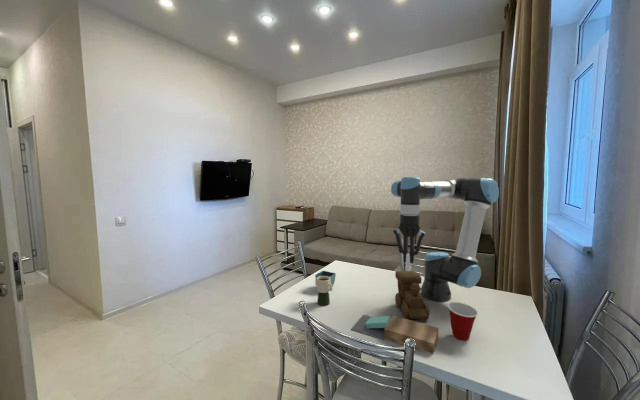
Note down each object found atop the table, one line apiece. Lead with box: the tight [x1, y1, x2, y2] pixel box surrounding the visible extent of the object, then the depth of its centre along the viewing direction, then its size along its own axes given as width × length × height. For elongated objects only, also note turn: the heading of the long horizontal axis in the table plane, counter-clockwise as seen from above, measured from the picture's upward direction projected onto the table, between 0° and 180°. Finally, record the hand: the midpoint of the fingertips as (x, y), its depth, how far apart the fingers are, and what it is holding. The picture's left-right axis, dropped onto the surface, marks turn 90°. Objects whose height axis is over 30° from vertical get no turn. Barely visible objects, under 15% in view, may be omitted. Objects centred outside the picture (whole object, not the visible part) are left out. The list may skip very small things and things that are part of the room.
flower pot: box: [315, 270, 337, 288], centre depth 153 cm, size 9×9×9 cm
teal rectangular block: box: [365, 315, 391, 328], centre depth 113 cm, size 9×6×2 cm, turn 59°
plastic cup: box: [447, 301, 479, 342], centre depth 107 cm, size 11×11×12 cm
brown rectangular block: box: [384, 315, 439, 355], centre depth 107 cm, size 18×12×4 cm, turn 59°
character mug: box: [314, 276, 333, 306], centre depth 136 cm, size 11×7×13 cm, turn 48°
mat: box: [350, 314, 385, 341], centre depth 115 cm, size 14×14×1 cm
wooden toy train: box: [394, 270, 431, 320], centre depth 126 cm, size 20×11×17 cm, turn 0°
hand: (408, 270), depth 114 cm, fingers closed
